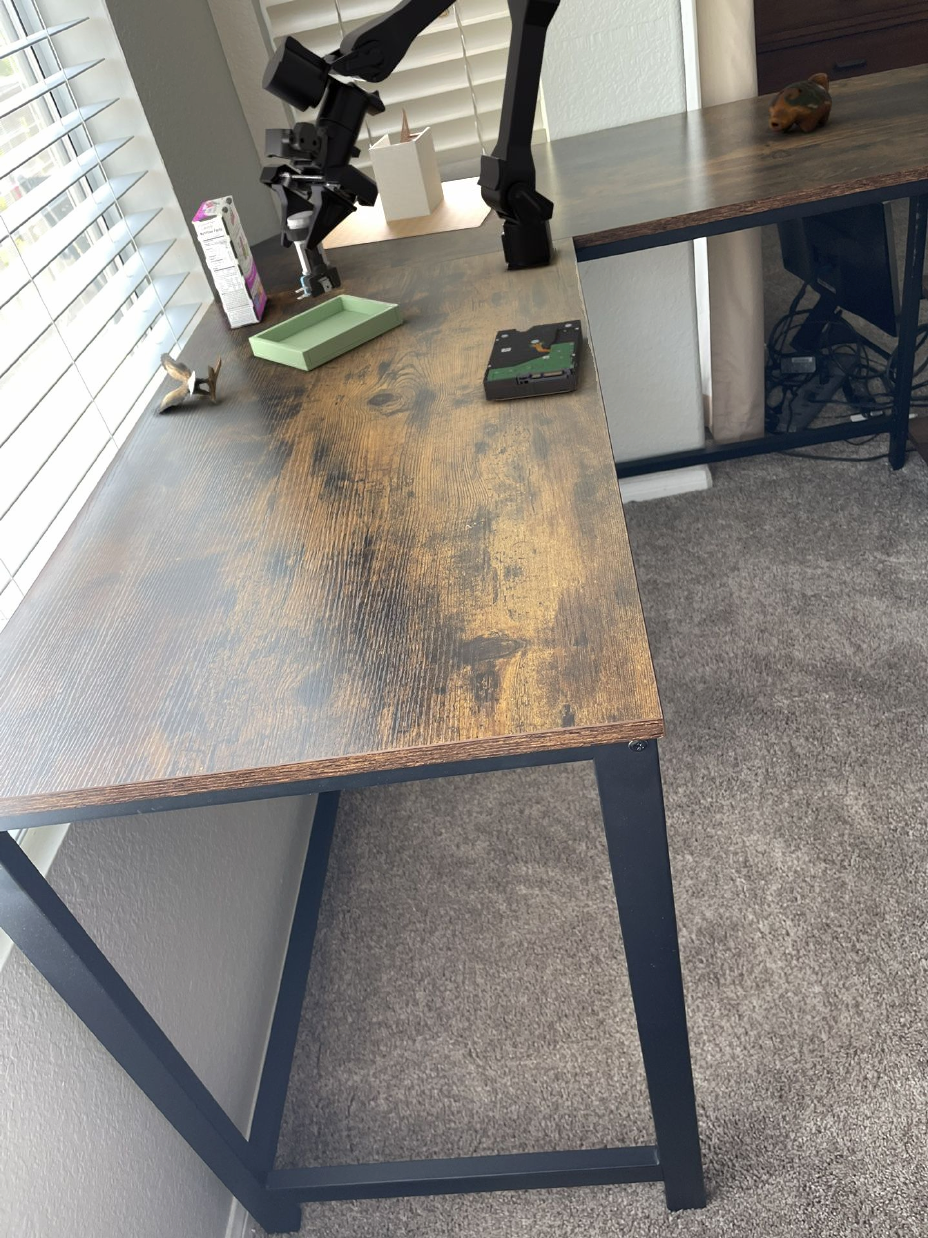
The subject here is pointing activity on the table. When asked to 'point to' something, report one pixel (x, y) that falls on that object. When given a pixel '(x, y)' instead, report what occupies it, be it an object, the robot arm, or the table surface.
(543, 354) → the disk drive
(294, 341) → the tray
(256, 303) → the candy bar box
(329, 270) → the push button
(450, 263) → the table surface
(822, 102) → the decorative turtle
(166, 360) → the eagle figurine
